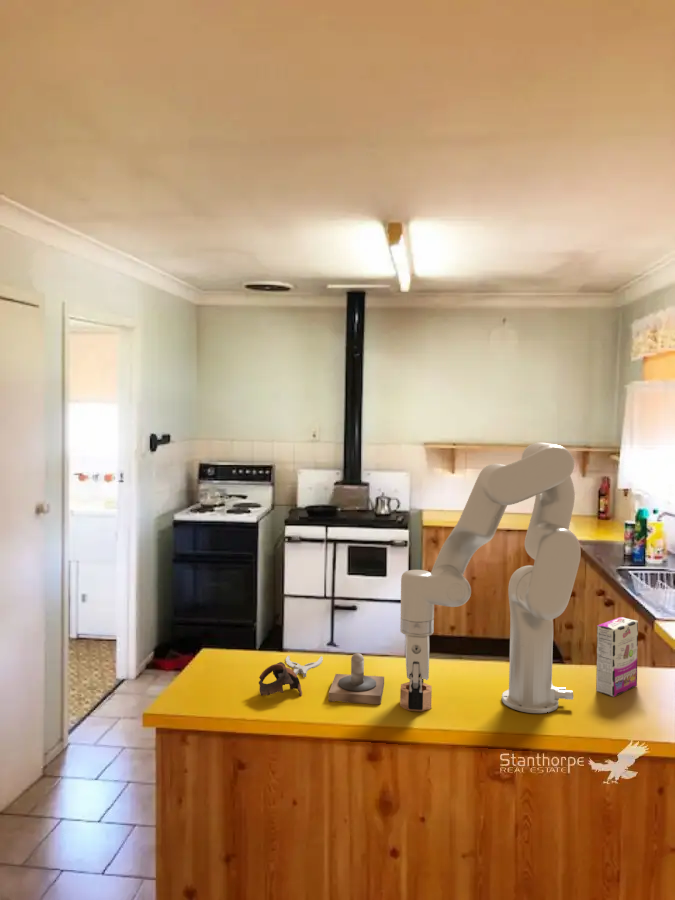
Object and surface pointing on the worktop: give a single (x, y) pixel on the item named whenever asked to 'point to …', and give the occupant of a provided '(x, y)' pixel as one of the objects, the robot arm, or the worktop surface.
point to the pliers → (303, 669)
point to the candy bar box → (617, 656)
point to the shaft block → (357, 685)
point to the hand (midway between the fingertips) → (415, 701)
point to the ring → (426, 696)
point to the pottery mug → (279, 679)
